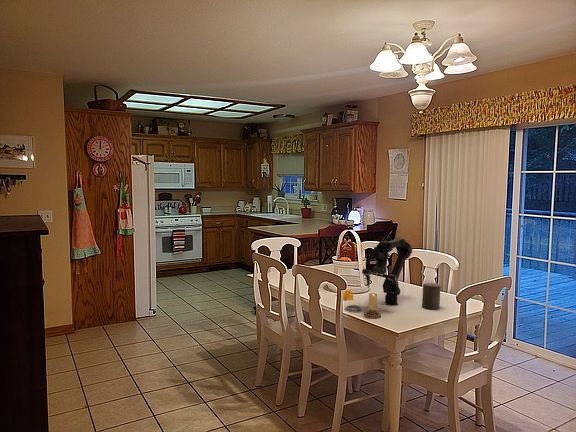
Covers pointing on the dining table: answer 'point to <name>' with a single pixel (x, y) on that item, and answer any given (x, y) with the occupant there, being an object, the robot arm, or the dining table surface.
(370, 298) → the sleeve
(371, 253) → the robot arm
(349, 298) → the pipe clamp
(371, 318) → the stand collar
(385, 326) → the dining table surface
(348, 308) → the hub
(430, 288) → the pillar candle
